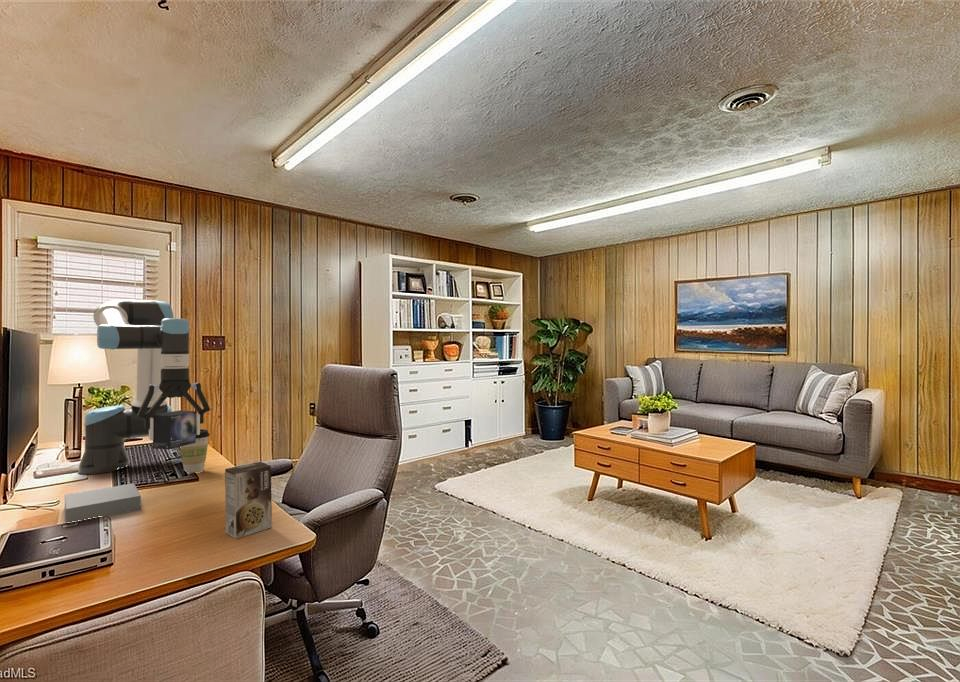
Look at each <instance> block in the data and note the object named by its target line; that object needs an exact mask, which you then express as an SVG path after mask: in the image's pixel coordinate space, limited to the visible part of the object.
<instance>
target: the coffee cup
mask: <svg viewBox="0 0 960 682" xmlns="http://www.w3.org/2000/svg"><path fill="white" fill-rule="evenodd" d="M209 437H210V433H209V431H208V429H205V428H204V429H203V428H200V435H197V434H196V443H193V444H189V445H185V446H181V447H180V454H181V460H182V461H181V462H182V467H183V472H184V471H185V472H191V471H193V472H201V471H203V470H204V471H205V463H206V460H207V453H208V445H209V443H208V441H209ZM204 471H203V472H204ZM201 473H202V472H201Z"/></svg>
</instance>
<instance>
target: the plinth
mask: <svg viewBox="0 0 960 682" xmlns="http://www.w3.org/2000/svg"><path fill="white" fill-rule="evenodd" d="M141 507H142V495H141V493H140V491H139V490H138V488H137V487H136V485H135V483H128V484H121V485H116V486H110V487H103V488H97V489H91V490H84V491H80V492H79V491H78V492H73V493H67V494H64V515H65V517H64V519H65V524H66V523H67V522H72V521H78V520H84V519H88V518H93V517H98V516H106V517H109V516H115V515H120V514H126V513H130V512H136V511H140V510H142V508H141Z"/></svg>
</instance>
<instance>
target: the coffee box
mask: <svg viewBox="0 0 960 682" xmlns="http://www.w3.org/2000/svg"><path fill="white" fill-rule="evenodd" d="M224 471H225V472H224V474H225V475H224V478H225V480H224V481H225V483H224V484H225V486H224V487H225V488H224V489H225V491H224V493H225V495H224V496H225V498H224V499H225V500H224V501H225V502H224V503H225V505H224V506H225V508H224V509H225V534H227V535H229V536H230V537H232V538H234V539H240V538H243V537H246V536H250V535H253V534H255V533H258V532H261V531H265V530H268V529H270V528H273V521H272V520H273V519H272V518H273V515H272V512H273V511H272V507H273V506H272V505H273V504H272V465H270V464H268V463H265V462H263V461H256V462H251V463H248V464H242V465H238V466H232V467H229V468H225V469H224Z"/></svg>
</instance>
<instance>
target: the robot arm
mask: <svg viewBox="0 0 960 682" xmlns="http://www.w3.org/2000/svg"><path fill="white" fill-rule="evenodd" d="M93 321H94V323H95V326H97V328H96V343H97V347H98V348H99V349H103V350H137V355H136V357H137V358H136V359H137V360H136V364H137V365H136V397H135V398H136V399H135V400H134V401H132V402H131V404H130V405H131V406H130V408H126V407H125V406H124V405H123V404H122V405H121V404H120V405H119V404H118V405H110V406H105V407H99V408H96V409H95V408H94V409H92V410H89V411H88V412H86V414H85V418H84V419H85V420H84V423H83V425H84V431H85V432H84V452H83V455H82V457H81V460H80V462H79V465H78V473H79V474H80V475H81V474H83V475H96V474H98V475H99V474H106V473H113V472H115V471H114V469H115V468H118V467H123V466H126V465H128V464H129V463H131V462H130V458H129V455H128V453H127V450H126V448H125V440H128V439H136V438H146V437H148V440H149V441H153V415H155V414H161V413H167V412H173V411H172V406H171V405H169V404H168V401H167V400H166V399H167V398H169V399H173V398H182V397H184V398H185V400H186V401H187V402H189V404H190V405H191V407H193V408H194V409H195V411H196V434H197V435H200V429H201V424H204V419H205V418H204V414H205V413H208V412H210V411H211V408H210V405H209V404H208V401H207V399H206V397H205V395H204V394H203V390H202V384H201V383H200V382H194V383H191V382H190V369H189V368H188V367H189V366H190V332H191V329H190V322H189V320H188V319H186V318H175V317H174V312H173V308H172V306H171V304H170V303H169V302H167V301H161V300H160V301H159V300H148V299H147V300H146V299H138V300H137V299H127V298H126V299H122V298H121V299H114V300H111V301H110V300H109V301H107V302H104V303H102V304H100V305H99V306H98V307H97V308H96V309H95V310H94V313H93ZM191 388H192V390H194V391H195V393H196V396H197V398H198V400H199V402H200V404H201V407H200V405H199V404H198V403H197V402H196V401H195V399H194V398H193V397H192V396H191V394H190V393H189V392H188V391H189V390H190V389H191Z"/></svg>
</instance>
